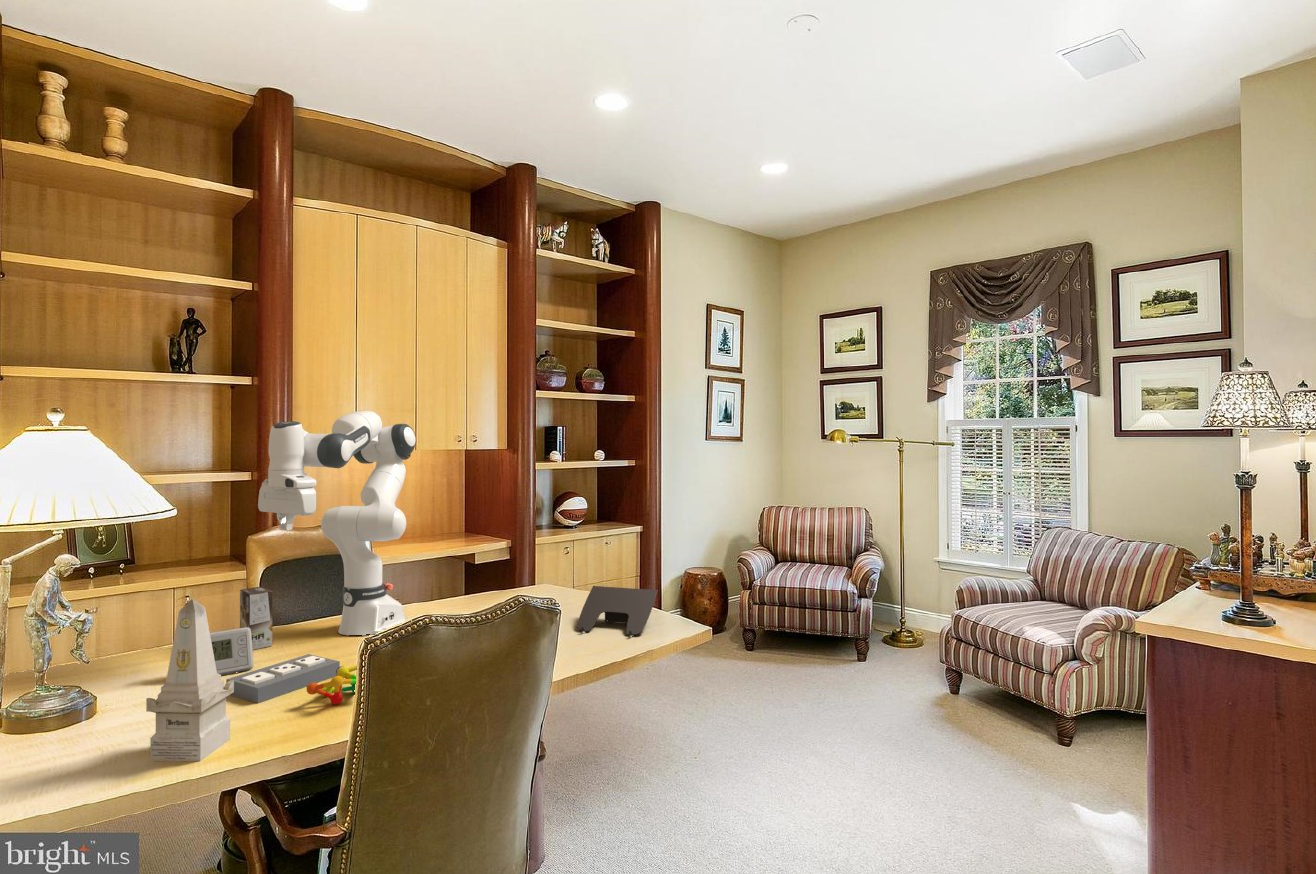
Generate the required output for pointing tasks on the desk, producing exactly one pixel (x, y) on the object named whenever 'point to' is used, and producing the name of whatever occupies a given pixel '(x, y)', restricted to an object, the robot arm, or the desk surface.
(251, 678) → the button
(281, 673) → the button
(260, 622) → the coffee box
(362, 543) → the robot arm
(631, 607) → the portable electronic device stand
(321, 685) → the decorative model
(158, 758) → the miniature monument
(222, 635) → the digital clock
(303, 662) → the button
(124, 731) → the desk surface
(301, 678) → the button panel
